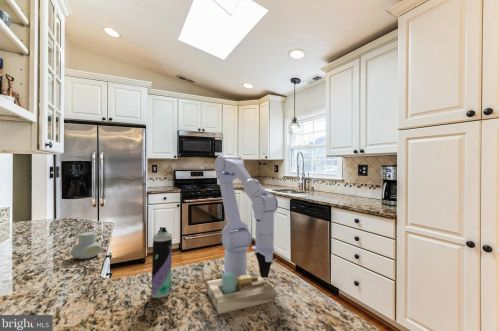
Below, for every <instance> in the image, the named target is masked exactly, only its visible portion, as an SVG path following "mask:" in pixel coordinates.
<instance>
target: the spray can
mask: <svg viewBox="0 0 499 331" xmlns="http://www.w3.org/2000/svg"><path fill="white" fill-rule="evenodd" d="M172 235H173V233H170V232H169V230H167V227H163V226H160V227H159V230H158V231H157V233H155V234H153V236H152V257H151V258H152V262H151V297H152V298H155V299H161V298H166V297H168V296H169V295H171V292H172V259H173V258H172V253H173V252H172V250H173V249H172V248H173V247H172V246H173V244H172V243H173V236H172Z"/></svg>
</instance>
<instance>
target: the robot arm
mask: <svg viewBox="0 0 499 331" xmlns="http://www.w3.org/2000/svg"><path fill="white" fill-rule="evenodd" d="M214 170H215V175H216V179H217V180H218V183H219V188H220V193H221V198H222V203H223V207H224V208H223V209H224V214H225V219H226V224H225V226H224V227H223V228H222V230H221V235H222V236H221V244H222V247H223V248H224V249H225V250H224V253H223V254H224V256H223V257H224V258H223V259H224V261H223V263H224V264H223V265H224V267H222V268H221V270H222V272H223V273H225V272H234V273H235V274H236V276H238V275H244V274H249V273H250V272H249V271H247V259H248V258H247V253H248V252H247V250H248V249H249V246H250V245H251V244H252V233H251V232H250V230H249V228H248V224H246V223H245V222H243V221H242V219H241V215H240V211H239V205H238V201H237V197H236V192H235V187H234V183H233V182H234V180H236V179H238V180H239V181H240V182H241V183H242V185H243V187H242V188H243V191H244V192H245V194H246V195H247V197H248V198H249V199H250V201H251V208H252V211H253V217H254V219H255V245H253V246H251V250H252V251H255V252H254V255H255V257H256V260H257V262H258V264H257V265H258V269H259V276H261V278H263V279H264V278H268V277H269V274H270V269H271V266H272V263H273V261H274V260H275V255H274V252H275V246H274V244H275V243H274V242H275V241H274V240H275V238H274V237H275V236H274V232H275V228H274V227H275V225H274V223H275V219H274V218H275V212H276V211H277V209H278V206H279V202H278V199H277V197H276V195H275V194H273V193H270V192H267V190H266V189H265V188H264V187H263V185H262V184H261V183H260V181H259V179H256V178H252V176H251V175H250V173H249V171H248V170H247V169H246V167H245V160H244V159H243V158H242V157H241V156H227V155H221V154H220V155H218V156H217V157H216V158H215V161H214Z"/></svg>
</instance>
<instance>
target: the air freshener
mask: <svg viewBox="0 0 499 331" xmlns="http://www.w3.org/2000/svg"><path fill="white" fill-rule="evenodd" d="M102 248H103V247H102V245H101V244H100V243H99V242H97V241H96V233H95V232H93V231H87V232H83V233H80V234H79V235H78V244H76V245H75V246H73V247H72V248H71V251H70V255H71V256H72V257H73V258H74V259H78V260H89V259H92V258H94V257H96V256H97V255H98V254H100V253H101V252H102Z"/></svg>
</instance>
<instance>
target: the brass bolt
mask: <svg viewBox="0 0 499 331" xmlns="http://www.w3.org/2000/svg"><path fill="white" fill-rule="evenodd" d="M248 284H252V277H251V276H250V275H249V274H247V275H241V276H237V286H238V287H239V288H242V286H243V285H248Z"/></svg>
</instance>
